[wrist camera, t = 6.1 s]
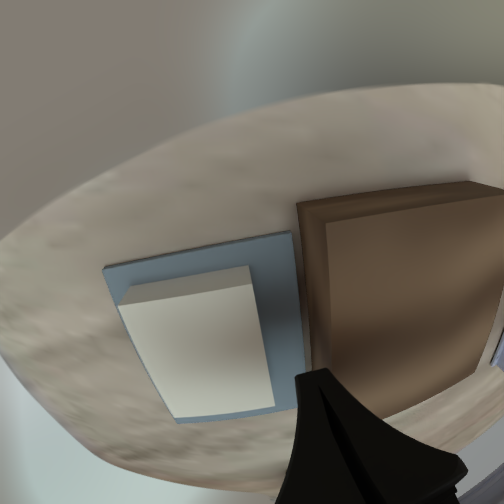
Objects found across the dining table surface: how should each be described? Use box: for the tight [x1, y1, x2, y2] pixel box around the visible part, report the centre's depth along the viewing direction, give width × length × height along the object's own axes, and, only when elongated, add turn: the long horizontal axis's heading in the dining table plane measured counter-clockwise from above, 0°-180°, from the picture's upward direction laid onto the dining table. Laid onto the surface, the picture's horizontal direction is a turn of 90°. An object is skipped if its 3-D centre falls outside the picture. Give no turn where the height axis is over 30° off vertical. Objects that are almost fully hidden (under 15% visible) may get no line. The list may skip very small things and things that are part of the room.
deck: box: [297, 181, 504, 420], centre depth 13 cm, size 13×12×4 cm
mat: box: [102, 231, 306, 424], centre depth 15 cm, size 12×10×1 cm
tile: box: [118, 265, 275, 418], centre depth 13 cm, size 8×6×2 cm
